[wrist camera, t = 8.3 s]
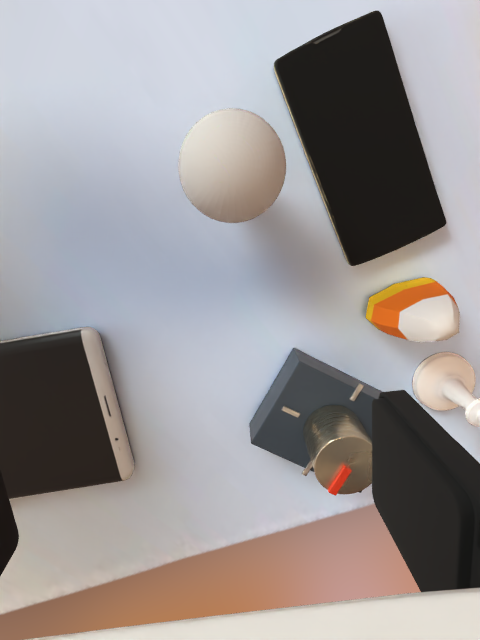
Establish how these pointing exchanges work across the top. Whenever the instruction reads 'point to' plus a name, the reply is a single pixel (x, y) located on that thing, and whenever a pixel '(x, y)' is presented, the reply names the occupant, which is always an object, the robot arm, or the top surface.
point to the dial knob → (339, 449)
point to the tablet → (59, 415)
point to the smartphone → (361, 138)
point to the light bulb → (232, 165)
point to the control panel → (306, 405)
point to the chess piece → (447, 385)
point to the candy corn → (415, 311)
